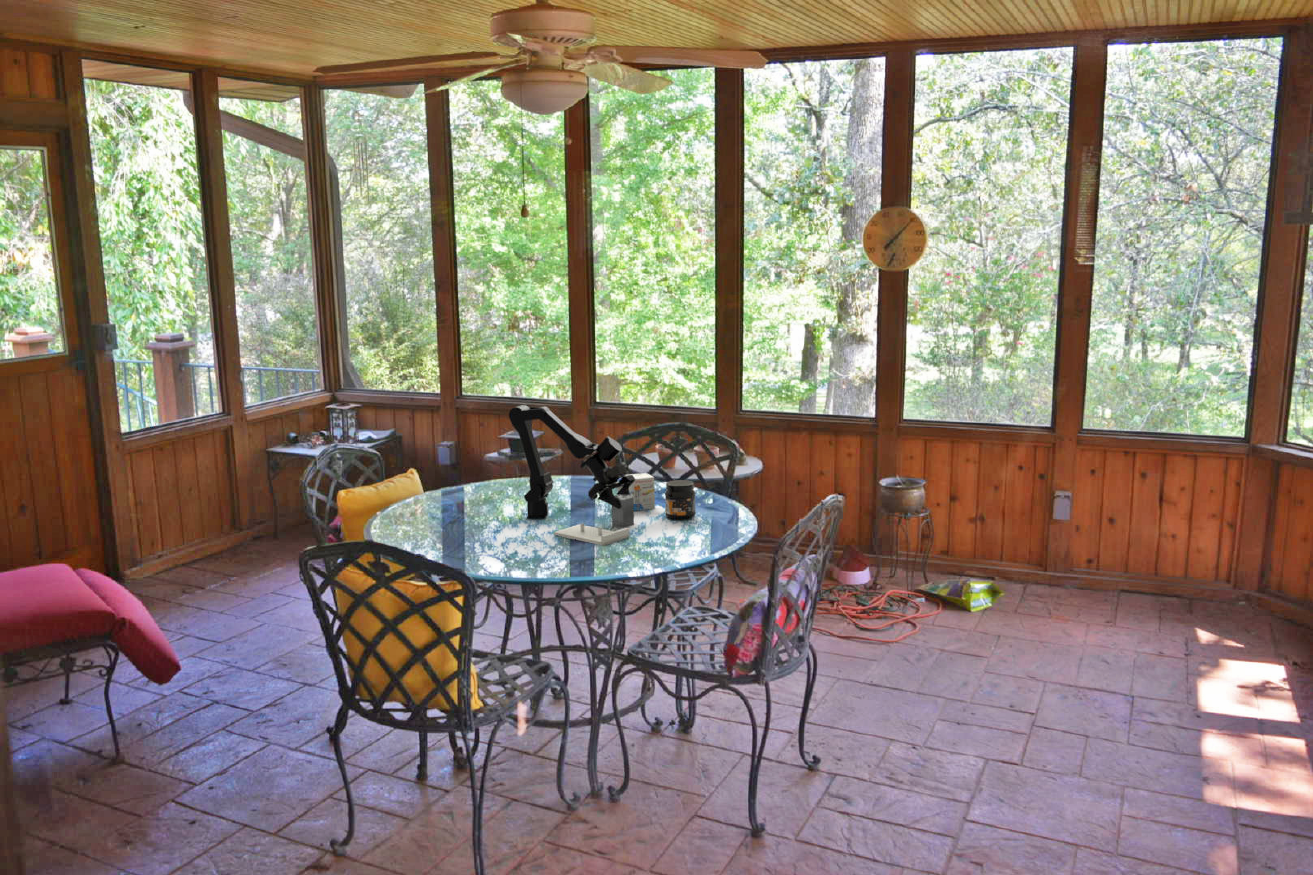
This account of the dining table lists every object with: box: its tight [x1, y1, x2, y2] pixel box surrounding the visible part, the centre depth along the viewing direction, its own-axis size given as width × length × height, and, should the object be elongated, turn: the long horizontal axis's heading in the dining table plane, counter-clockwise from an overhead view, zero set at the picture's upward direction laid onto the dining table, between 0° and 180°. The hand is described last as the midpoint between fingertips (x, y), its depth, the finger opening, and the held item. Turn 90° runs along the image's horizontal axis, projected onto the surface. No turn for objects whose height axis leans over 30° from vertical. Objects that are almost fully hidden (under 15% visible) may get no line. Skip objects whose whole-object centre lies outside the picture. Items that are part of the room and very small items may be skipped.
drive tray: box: [553, 523, 630, 547], centre depth 346 cm, size 22×12×4 cm, turn 51°
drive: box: [611, 494, 635, 529], centre depth 359 cm, size 5×6×10 cm
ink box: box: [624, 472, 656, 512], centre depth 383 cm, size 9×8×12 cm
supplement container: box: [664, 479, 697, 521], centre depth 368 cm, size 10×10×12 cm
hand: (625, 506), depth 357 cm, fingers closed on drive, 5 cm apart
